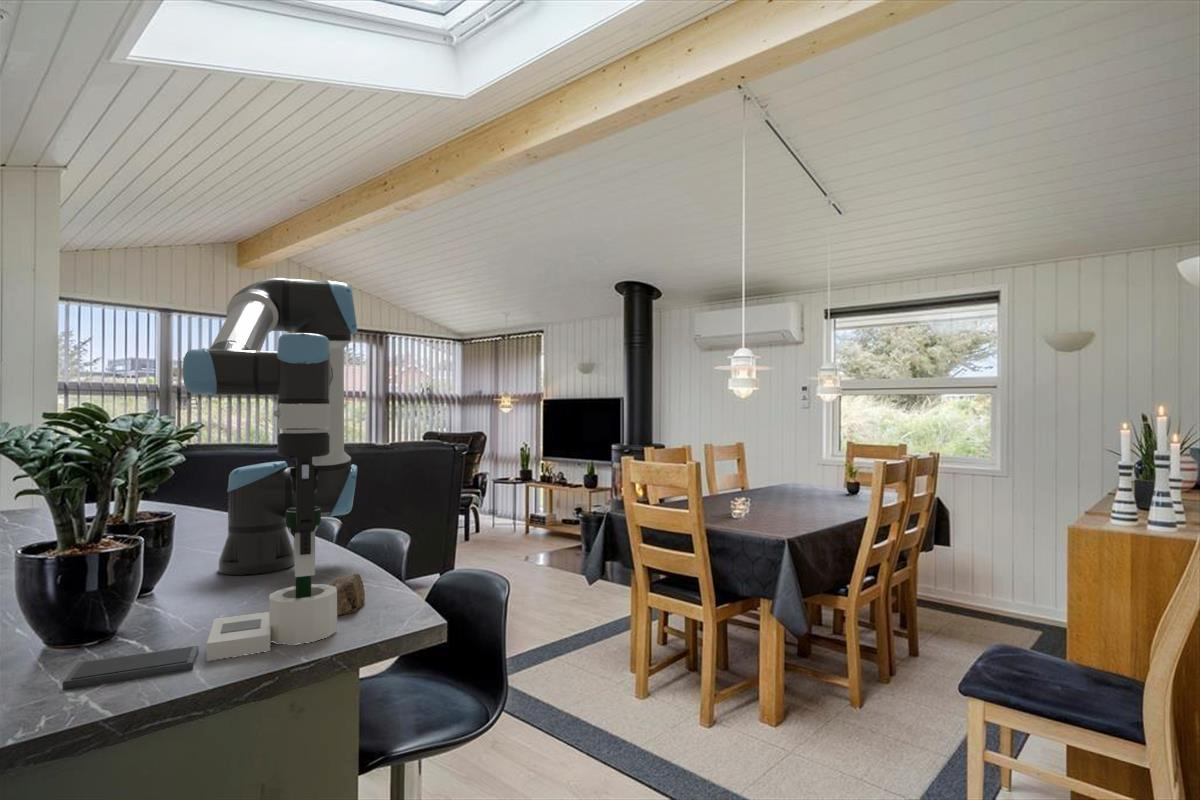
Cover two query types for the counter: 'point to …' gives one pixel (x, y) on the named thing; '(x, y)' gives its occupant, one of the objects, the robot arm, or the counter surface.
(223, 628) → the block
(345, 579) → the rock
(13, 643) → the counter surface
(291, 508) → the flashlight
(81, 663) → the phone
